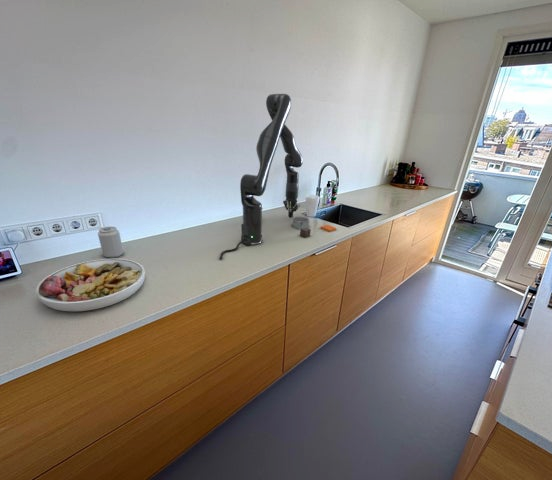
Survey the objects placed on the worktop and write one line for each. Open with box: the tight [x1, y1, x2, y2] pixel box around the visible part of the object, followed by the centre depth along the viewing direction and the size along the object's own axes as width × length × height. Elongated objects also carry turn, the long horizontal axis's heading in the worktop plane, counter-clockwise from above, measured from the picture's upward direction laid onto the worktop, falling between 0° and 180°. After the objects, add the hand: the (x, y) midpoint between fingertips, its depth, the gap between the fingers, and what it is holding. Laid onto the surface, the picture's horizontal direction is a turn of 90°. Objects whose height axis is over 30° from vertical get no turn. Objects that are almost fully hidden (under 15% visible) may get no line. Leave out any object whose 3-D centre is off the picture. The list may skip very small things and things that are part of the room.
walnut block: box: [299, 228, 311, 239], centre depth 159 cm, size 4×4×4 cm
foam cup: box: [305, 194, 321, 218], centre depth 193 cm, size 10×9×13 cm
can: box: [97, 226, 124, 259], centre depth 121 cm, size 8×8×12 cm
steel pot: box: [292, 216, 310, 230], centre depth 173 cm, size 10×10×4 cm
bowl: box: [35, 258, 146, 312], centre depth 97 cm, size 30×30×8 cm
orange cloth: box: [320, 224, 337, 233], centre depth 172 cm, size 6×7×1 cm
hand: (290, 217), depth 178 cm, fingers closed
